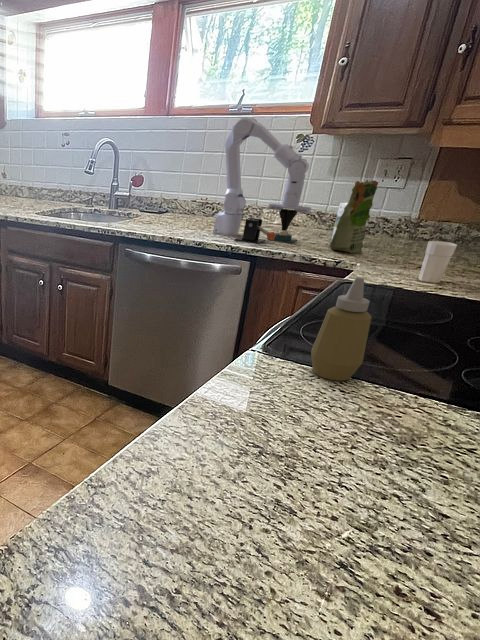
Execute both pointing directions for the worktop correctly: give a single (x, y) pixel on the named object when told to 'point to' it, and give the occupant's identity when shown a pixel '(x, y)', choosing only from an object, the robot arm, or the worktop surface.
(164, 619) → the worktop surface
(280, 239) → the button block
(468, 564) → the worktop surface
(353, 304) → the squeeze bottle
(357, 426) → the worktop surface
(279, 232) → the button
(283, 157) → the robot arm
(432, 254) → the cup
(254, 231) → the switch bracket
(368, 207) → the pouch
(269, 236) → the switch lever
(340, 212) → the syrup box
